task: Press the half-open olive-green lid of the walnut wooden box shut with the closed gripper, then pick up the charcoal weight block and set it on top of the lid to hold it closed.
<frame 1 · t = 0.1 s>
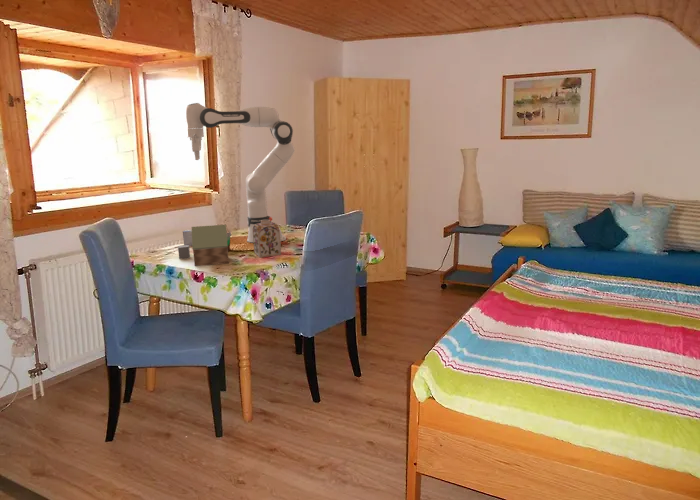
hand: (197, 159, 300), 48 cm above the table, tool pointing down, fingers open, 8 cm apart
food container: (222, 251, 292), on the table
box lid: (209, 236, 265), point 13 cm above the table, hinge at 50.0°
weight block: (184, 257, 280), on the table
decorative jar: (267, 254, 282), on the table
medicine box: (192, 245, 309), on the table
wooden box: (211, 261, 270), on the table
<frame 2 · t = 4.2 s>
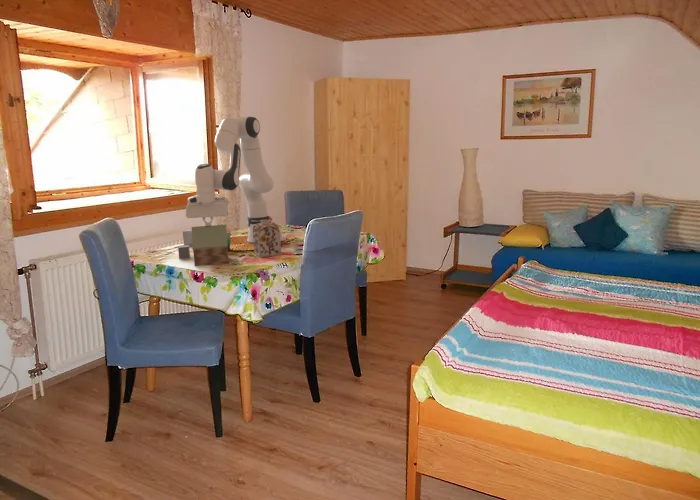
hand: (208, 226, 267), 18 cm above the table, tool pointing down, fingers closed, pressing on box lid
box lid: (209, 236, 265), point 13 cm above the table, hinge at 49.6°, touching gripper
everything else where it was.
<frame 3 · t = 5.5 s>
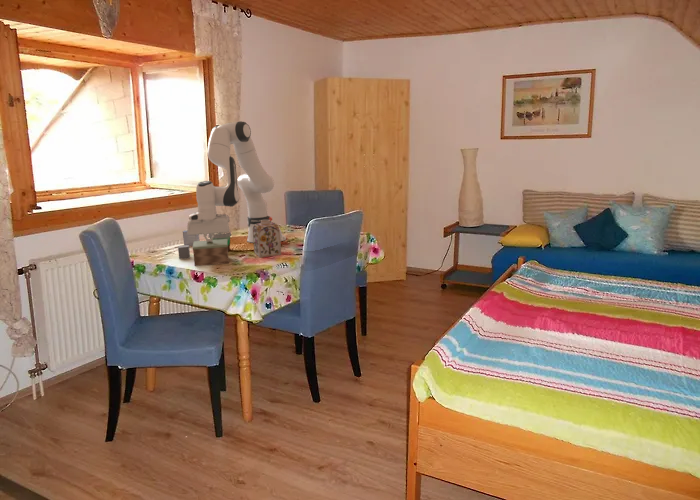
hand: (209, 242, 269), 9 cm above the table, tool pointing down, fingers closed, pressing on box lid
box lid: (210, 244, 268), point 9 cm above the table, hinge at 2.6°, touching gripper
everything else where it was.
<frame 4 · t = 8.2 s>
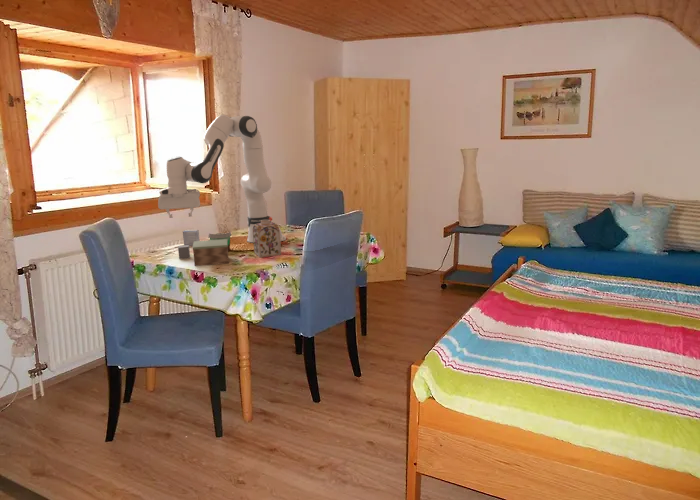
hand: (180, 217, 276), 21 cm above the table, tool pointing down, fingers open, 8 cm apart
box lid: (210, 244, 268), point 9 cm above the table, hinge at 2.5°
everything else where it was.
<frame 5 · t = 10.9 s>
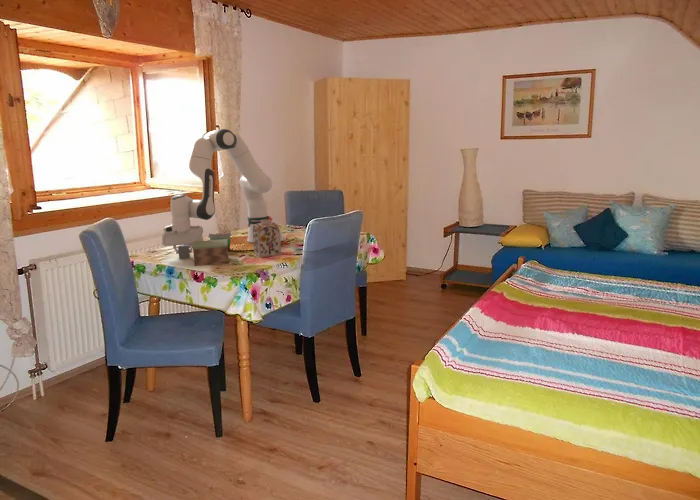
hand: (184, 253, 280), 2 cm above the table, tool pointing down, fingers closed on weight block, 5 cm apart
weight block: (184, 257, 280), on the table, touching gripper
everything else where it was.
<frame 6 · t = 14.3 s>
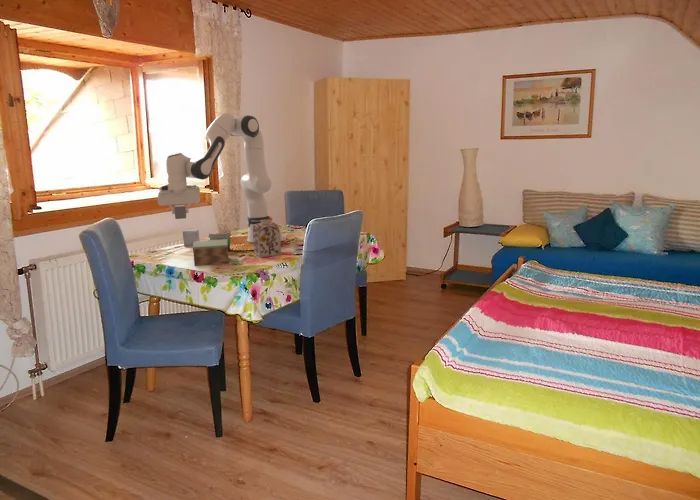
hand: (180, 213, 275), 23 cm above the table, tool pointing down, fingers closed on weight block, 5 cm apart
weight block: (180, 217, 276), point 21 cm above the table, touching gripper
everything else where it was.
when the fingers open (13 cm above the table, at t = 17.9 s): weight block drops 1 cm, resting on box lid.
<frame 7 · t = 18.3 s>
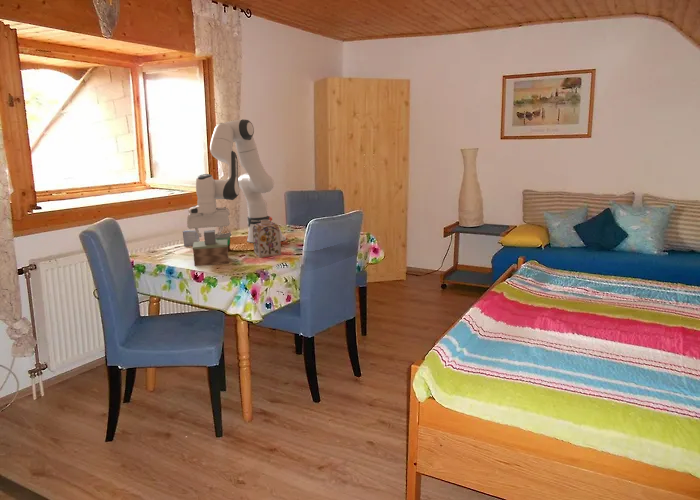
hand: (209, 236, 267), 13 cm above the table, tool pointing down, fingers open, 8 cm apart
box lid: (210, 244, 268), point 9 cm above the table, hinge at 1.7°, touching weight block
weight block: (210, 243, 268), point 9 cm above the table, touching box lid
everything else where it was.
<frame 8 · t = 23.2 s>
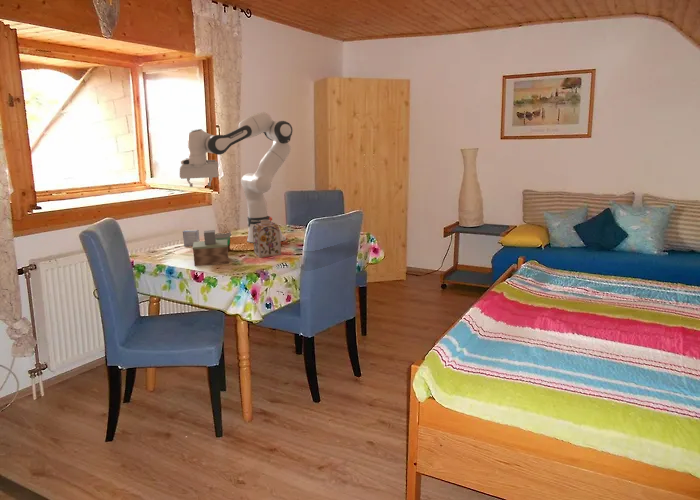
hand: (200, 186, 294), 34 cm above the table, tool pointing down, fingers open, 8 cm apart
nothing on the table moved.
at the end: box lid at +2° (first picture: +50°); weight block inside the target area on the wooden box (0.0 cm from its centre), point 9.3 cm above the wooden box's base; weight block tilted 2° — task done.
